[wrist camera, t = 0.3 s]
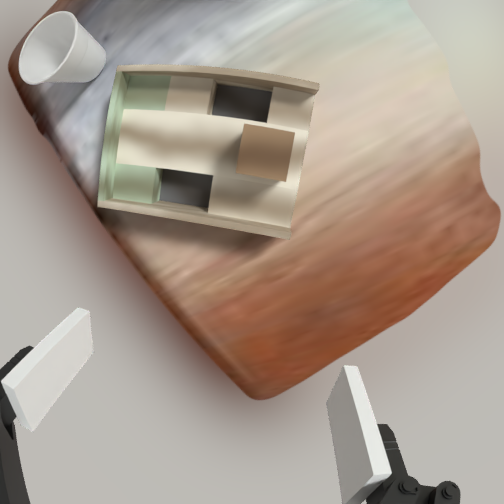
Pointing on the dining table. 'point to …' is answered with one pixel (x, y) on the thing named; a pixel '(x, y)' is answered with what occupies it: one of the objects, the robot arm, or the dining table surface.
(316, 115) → the dining table surface
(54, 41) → the cup
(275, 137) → the block
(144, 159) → the box
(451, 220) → the dining table surface
